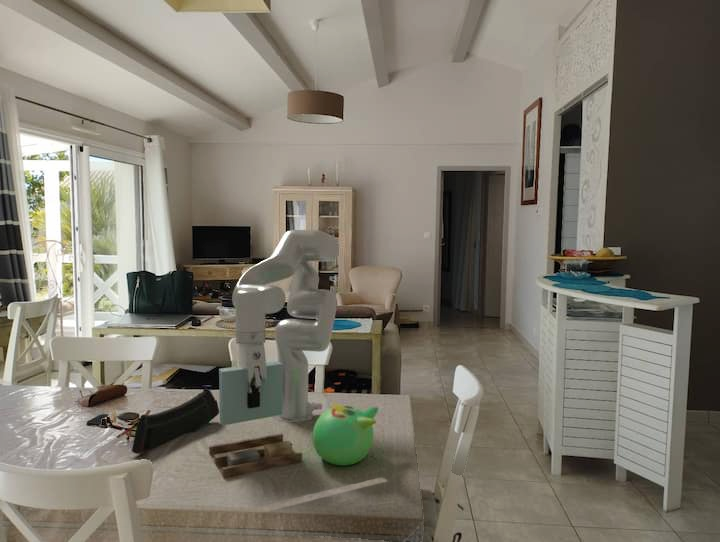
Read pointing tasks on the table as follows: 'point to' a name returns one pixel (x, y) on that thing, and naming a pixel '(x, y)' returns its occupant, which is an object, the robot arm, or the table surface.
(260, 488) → the table surface
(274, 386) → the panel
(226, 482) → the table surface
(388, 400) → the table surface
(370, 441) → the toy bird
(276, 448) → the offcut
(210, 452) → the rack
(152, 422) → the magazine
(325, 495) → the table surface
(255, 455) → the offcut
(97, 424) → the phone
